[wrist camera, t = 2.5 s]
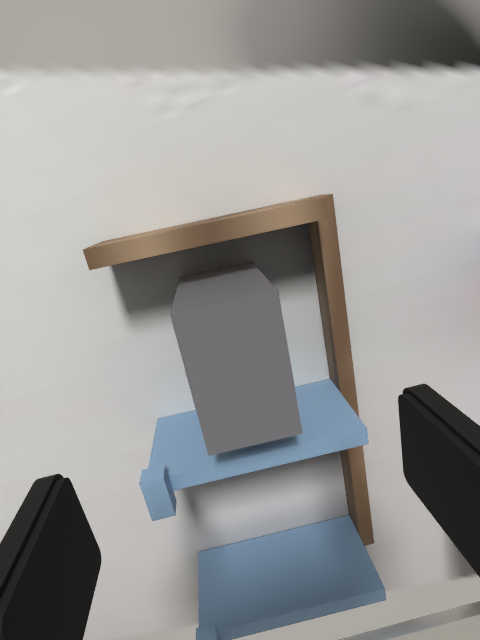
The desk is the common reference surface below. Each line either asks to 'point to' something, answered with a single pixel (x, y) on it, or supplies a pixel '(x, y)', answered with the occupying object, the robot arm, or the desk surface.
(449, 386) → the desk surface
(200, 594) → the pair of blue brackets
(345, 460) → the brown l-shaped bracket
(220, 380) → the charcoal plug
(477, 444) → the robot arm
